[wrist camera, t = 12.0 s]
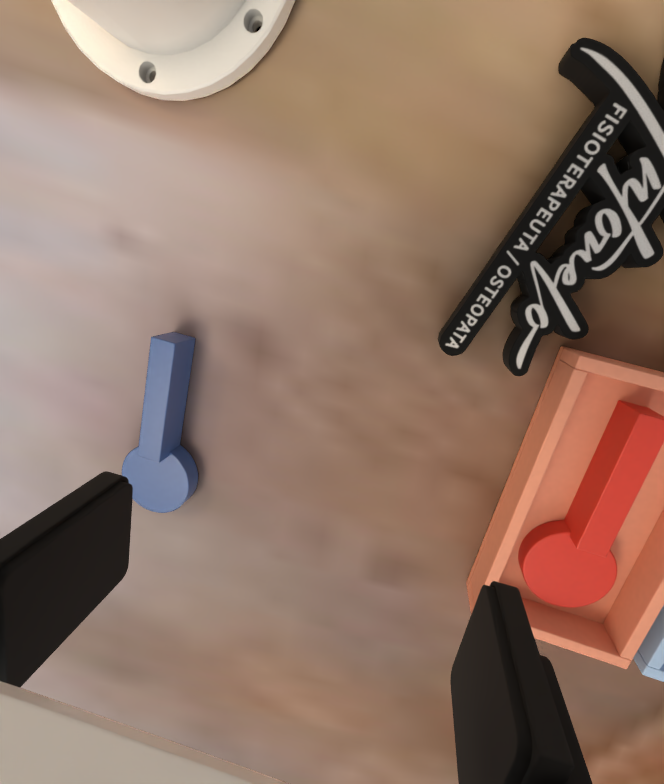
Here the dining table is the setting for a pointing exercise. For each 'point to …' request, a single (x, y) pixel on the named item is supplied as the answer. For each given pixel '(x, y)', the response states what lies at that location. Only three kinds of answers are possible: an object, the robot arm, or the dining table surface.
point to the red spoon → (594, 514)
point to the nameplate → (592, 224)
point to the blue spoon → (164, 429)
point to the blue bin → (652, 650)
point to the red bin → (555, 495)
